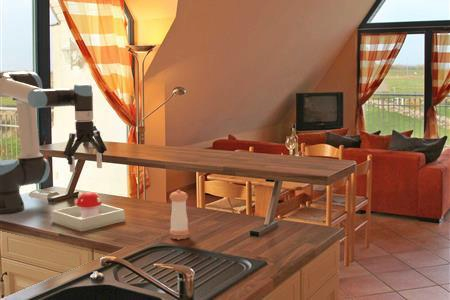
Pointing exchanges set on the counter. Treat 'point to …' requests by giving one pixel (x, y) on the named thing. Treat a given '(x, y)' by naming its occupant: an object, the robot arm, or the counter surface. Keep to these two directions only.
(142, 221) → the counter surface
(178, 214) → the pepper shaker
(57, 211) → the tub
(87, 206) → the mushroom
